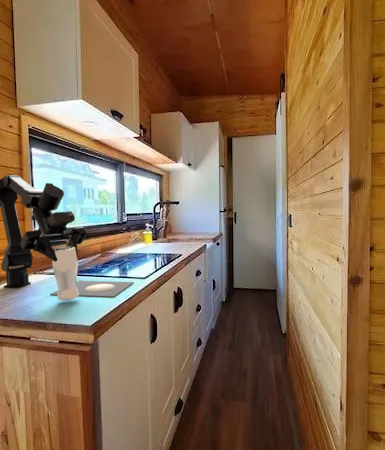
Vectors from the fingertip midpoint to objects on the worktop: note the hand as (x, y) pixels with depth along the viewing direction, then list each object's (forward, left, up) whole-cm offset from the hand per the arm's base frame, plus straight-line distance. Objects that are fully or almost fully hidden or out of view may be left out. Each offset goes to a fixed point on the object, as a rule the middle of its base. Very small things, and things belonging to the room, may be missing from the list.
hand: (66, 259), depth 90 cm
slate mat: (0, +16, -13) cm, 21 cm away
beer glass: (-1, +1, -12) cm, 12 cm away
